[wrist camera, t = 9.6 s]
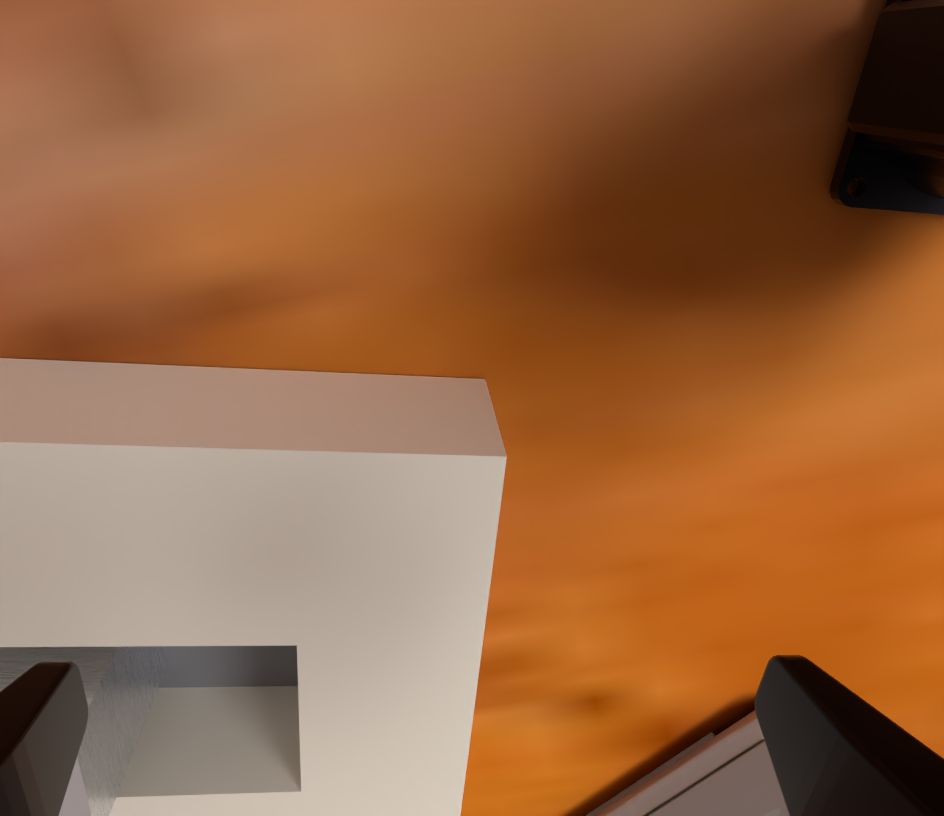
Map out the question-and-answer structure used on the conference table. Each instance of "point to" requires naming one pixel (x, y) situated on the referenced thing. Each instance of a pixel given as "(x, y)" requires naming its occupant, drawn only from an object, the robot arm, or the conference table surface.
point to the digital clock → (708, 780)
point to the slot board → (262, 572)
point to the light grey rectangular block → (100, 713)
